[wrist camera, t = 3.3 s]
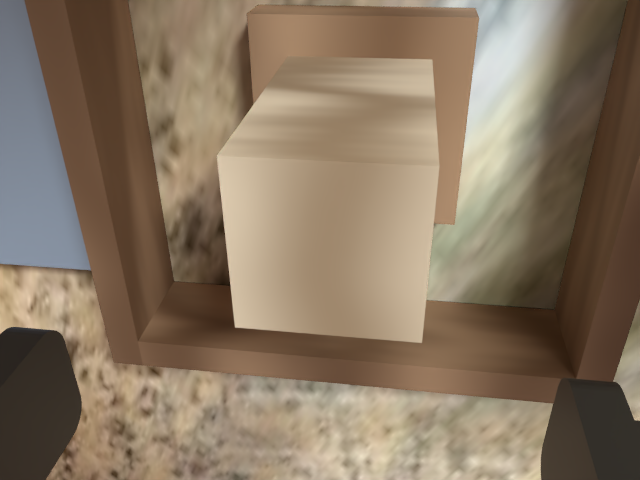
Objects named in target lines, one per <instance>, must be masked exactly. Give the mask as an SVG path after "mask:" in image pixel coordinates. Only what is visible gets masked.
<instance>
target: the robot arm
mask: <svg viewBox="0 0 640 480" xmlns="http://www.w3.org/2000/svg"><path fill="white" fill-rule="evenodd" d="M81 406H82V402H81V395H80V392H79V388H78V385H77V382H76V378H75V375H74V371H73V368H72V365H71V361H70V358H69V354H68V351H67V348H66V344H65V341H64V338H63V336H62V335H61V334H60V333H59V332H57V331H54V330H43V329H32V328H20V327H11V328H8V329H6V330H5V331H3V332H2V333H1V334H0V480H46V478H47V477H48V475H49V473H50V472H51V470H52V469H53V467H54V465H55V464H56V462H57V461H58V459H59V457H60V456H61V454H62V453H63V451H64V449H65V448H66V446H67V445H68V443H69V441H70V440H71V438H72V437H73V435H74V433H75V431H76V429H77V426H78V423H79V420H80V415H81ZM541 480H640V421H636V420H634V418H633V416H632V413H631V411H630V408H629V405H628V403H627V400H626V398H625V395H624V393H623V390H622V388H621V387H620V385H619V384H618V383H616V382H608V381H597V380H586V379H575V378H562V379H561V381H560V383H559V385H558V389H557V392H556V396H555V400H554V404H553V408H552V412H551V416H550V419H549V423H548V427H547V431H546V435H545V439H544V443H543V447H542V454H541Z"/></svg>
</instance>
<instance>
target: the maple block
mask: <svg viewBox="0 0 640 480" xmlns="http://www.w3.org/2000/svg"><path fill="white" fill-rule="evenodd" d="M217 163H218V173H219V182H220V191H221V201H222V210H223V220H224V229H225V238H226V248H227V257H228V267H229V276H230V286H231V295H232V304H233V314H234V323H235V327H236V328H248V329H260V330H272V331H284V332H296V333H308V334H320V335H332V336H344V337H356V338H368V339H380V340H392V341H404V342H416V343H422V338H423V327H424V317H425V307H426V297H427V287H428V277H429V267H430V257H431V247H432V237H433V226H434V216H435V206H436V196H437V186H438V176H439V152H438V137H437V122H436V107H435V92H434V77H433V61H432V60H430V59H391V58H352V57H313V56H288V57H287V58H286V60H285V61H284V63H283V64H282V65H281V67H280V68H279V70H278V71H277V72H276V74H275V75H274V77H273V78H272V79H271V81H270V82H269V84H268V85H267V86H266V88H265V89H264V91H263V92H262V93H261V95H260V96H259V98H258V99H257V100H256V102H255V103H254V105H253V106H252V107H251V109H250V110H249V111H248V113H247V114H246V116H245V117H244V118H243V120H242V121H241V123H240V124H239V125H238V127H237V128H236V130H235V131H234V132H233V134H232V135H231V137H230V138H229V139H228V141H227V142H226V144H225V145H224V146H223V148H222V149H221V151H220V152H219V153H218V155H217Z"/></svg>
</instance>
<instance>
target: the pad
mask: <svg viewBox="0 0 640 480" xmlns="http://www.w3.org/2000/svg"><path fill="white" fill-rule="evenodd" d="M0 264H12V265H26V266H40V267H53V268H67V269H80V270H91V268H90V264H89V260H88V256H87V252H86V248H85V244H84V240H83V236H82V232H81V228H80V224H79V220H78V216H77V211H76V207H75V203H74V199H73V195H72V191H71V187H70V183H69V179H68V175H67V171H66V167H65V163H64V159H63V155H62V151H61V147H60V143H59V139H58V135H57V131H56V127H55V123H54V119H53V114H52V110H51V106H50V102H49V98H48V94H47V90H46V86H45V82H44V78H43V74H42V70H41V66H40V62H39V58H38V54H37V50H36V46H35V42H34V38H33V34H32V30H31V26H30V22H29V18H28V13H27V9H26V5H25V1H24V0H0Z"/></svg>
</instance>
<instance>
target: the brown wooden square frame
mask: <svg viewBox="0 0 640 480" xmlns="http://www.w3.org/2000/svg"><path fill="white" fill-rule="evenodd" d="M24 1H25V5H26V9H27V13H28V18H29V22H30V26H31V30H32V34H33V38H34V42H35V46H36V50H37V54H38V58H39V62H40V66H41V70H42V74H43V78H44V82H45V86H46V90H47V94H48V98H49V102H50V106H51V110H52V114H53V119H54V123H55V127H56V131H57V135H58V139H59V143H60V147H61V151H62V155H63V159H64V163H65V167H66V171H67V175H68V179H69V183H70V187H71V191H72V195H73V199H74V203H75V207H76V211H77V216H78V220H79V224H80V228H81V232H82V236H83V240H84V244H85V248H86V252H87V256H88V260H89V264H90V268H91V272H92V276H93V280H94V284H95V288H96V292H97V296H98V300H99V304H100V308H101V313H102V317H103V321H104V325H105V329H106V333H107V337H108V341H109V345H110V349H111V353H112V357H113V361H114V363H125V364H136V365H147V366H157V367H168V368H179V369H190V370H200V371H211V372H222V373H233V374H243V375H254V376H265V377H276V378H286V379H297V380H308V381H319V382H329V383H340V384H351V385H362V386H372V387H383V388H394V389H405V390H415V391H426V392H437V393H448V394H458V395H469V396H480V397H491V398H501V399H512V400H523V401H534V402H544V403H554V400H555V396H556V392H557V389H558V385H559V383H560V381H561V379H562V378H575V379H586V380H597V381H608V382H613V380H614V377H615V373H616V370H617V367H618V364H619V361H620V358H621V355H622V352H623V349H624V346H625V343H626V340H627V336H628V333H629V330H630V327H631V324H632V321H633V318H634V315H635V312H636V309H637V306H638V303H639V299H640V0H628V2H627V6H626V10H625V15H624V19H623V23H622V27H621V32H620V36H619V40H618V44H617V48H616V53H615V57H614V61H613V65H612V70H611V74H610V78H609V82H608V86H607V91H606V95H605V99H604V103H603V107H602V112H601V116H600V120H599V124H598V129H597V133H596V137H595V141H594V145H593V150H592V154H591V158H590V162H589V167H588V171H587V175H586V179H585V183H584V188H583V192H582V196H581V200H580V204H579V209H578V213H577V217H576V221H575V226H574V230H573V234H572V238H571V242H570V247H569V251H568V255H567V259H566V264H565V268H564V272H563V276H562V280H561V285H560V289H559V293H558V297H557V301H556V306H555V310H549V309H536V308H522V307H509V306H495V305H482V304H469V303H455V302H442V301H428V300H426V307H425V317H424V327H423V338H422V343H416V342H404V341H392V340H380V339H368V338H356V337H344V336H332V335H320V334H308V333H296V332H284V331H272V330H260V329H248V328H236V327H235V323H234V314H233V304H232V295H231V286H227V285H214V284H200V283H187V282H174V279H173V273H172V267H171V261H170V255H169V249H168V243H167V236H166V230H165V224H164V218H163V212H162V206H161V200H160V194H159V188H158V182H157V176H156V170H155V163H154V157H153V151H152V145H151V139H150V133H149V127H148V121H147V115H146V109H145V103H144V97H143V91H142V84H141V78H140V72H139V66H138V60H137V54H136V48H135V42H134V36H133V30H132V24H131V18H130V11H129V5H128V0H24ZM247 21H248V36H249V50H250V65H251V79H252V93H253V105H254V103H255V102H256V100H257V99H258V98H259V96H260V95H261V93H262V92H263V91H264V89H265V88H266V86H267V85H268V84H269V82H270V81H271V79H272V78H273V77H274V75H275V74H276V72H277V71H278V70H279V68H280V67H281V65H282V64H283V63H284V61H285V60H286V58H287V57H288V56H313V57H352V58H391V59H430V60H432V61H433V77H434V92H435V107H436V122H437V137H438V152H439V176H438V186H437V196H436V206H435V216H434V223H436V224H453V225H454V224H455V215H456V207H457V198H458V190H459V182H460V173H461V165H462V157H463V148H464V140H465V131H466V123H467V115H468V106H469V98H470V89H471V81H472V73H473V64H474V56H475V48H476V39H477V31H478V22H479V16H478V14H477V11H476V9H475V8H436V7H370V6H303V5H257V6H256V7H255V8H253V9H252V10H251V11H250V12H249V13H247Z"/></svg>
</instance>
